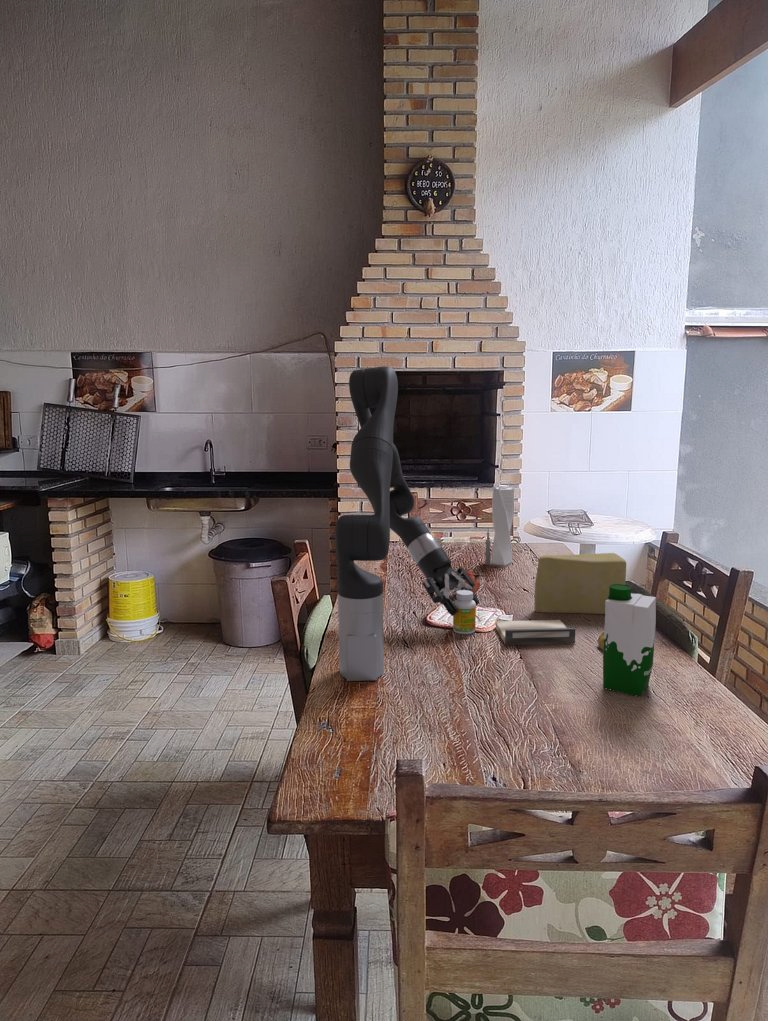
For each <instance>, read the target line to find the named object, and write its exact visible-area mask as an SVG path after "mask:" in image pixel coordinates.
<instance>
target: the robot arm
mask: <svg viewBox="0 0 768 1021" xmlns="http://www.w3.org/2000/svg"><path fill="white" fill-rule="evenodd" d="M348 388H349V394H350V400H351V403H352V406H353V408H354V411H355V414H356V418H357V421H358V423H359V424H358V425H360V426H359V427H360V429H359V430H358V431H357V433H356V434H355V436H354V437H353V438H352V442H351V447H350V456H349V470H350V473H351V475H352V477H353V479H354V480H355V482H356V483H357V485H358V486H359V488H360V489H361V490H362V491H363V492H364V494H365V495H366V497H367V499H368V500H369V502H370V504H371V507H372V509H373V513H374V514H343V515H340V516H339V517H338V518H337V521H336V522H335V526H334V527H335V528H334V538H335V539H334V540H335V543H334V544H335V555H336V567H337V570H336V571H337V603H338V604H337V605H338V606H337V608H338V611H337V612H338V613H337V614H338V618H337V619H338V650H339V651H338V652H339V654H338V656H339V658H338V659H339V674H340V676H341V677H343V678H345V679H346V681H347V682H356V681H357V682H359V681H377V680H378V678H380V677H381V676H383V674H384V673H385V662H384V659H385V657H384V656H385V654H384V653H385V652H384V651H385V650H384V649H385V647H384V643H385V642H384V637H385V636H384V582H383V579H382V577H380V576H379V575H377V574H374V573H373V572H369V571H367V570H365V569H363V568H361V567H360V566H358V565H357V564H356V563H355V562H356V561H357V562H358V561H361V562H368V561H369V562H372V561H373V562H378V561H379V562H380V561H384V560H385V559H386V558H387V556H388V554H389V551H390V543H391V531H392V532H394V533H395V534H396V535H397V536H398V537H399V538H400V540H401V541H402V543H403V544H404V546H405V547H406V549H407V550H408V551H409V553H410V555H411V557H412V559H413V561H414V562H415V564H416V566H417V567H418V568H419V569H420V571H421V573H422V575H424V577H425V578H426V579H425V580H424V581H423V582H422V585H423V587H424V589H425V590H426V592H427V593H428V595H429V597H430V599H431V600H432V602H433V603H434V604H437V603H440V604H441V605H443V606H444V608H445V609H446V611H447V612H448V614H450V616H451V617H453V615H455V614H456V613H457V612H458V609H457V607H456V606H455V604H454V601H453V600H452V598H450V594H449V592H450V591H453V590H454V591H456V592H457V591H459V590H469V591H472V588H473V587H474V586H475V583H474V582H473V581H472V579H471V578H470V577H469V575H468V574H467V573H466V571H467V570H466V571H465V569H464V567H462V566H459V567H458V568H457V569H454V568H453V567H452V560H451V558H450V557H449V556H448V554H447V553H446V551H445V549H444V548H443V546H442V545H441V544H440V543H439V541H438V540H437V538H436V537H435V536H434V535H433V534H432V533H431V531H430V530H429V528H428V527H427V525H425V523H424V521H423V520H422V519H421V518H420V517H418V516H413V517H402V516H405V515H406V514H409V513H410V512H412V511H413V509H414V507H415V497H414V495H413V493H412V491H411V489H410V487H409V485H408V483H407V481H406V479H405V477H404V475H403V470H402V469H403V468H402V464H401V460H400V454H399V451H398V448H397V446H396V445H395V444H394V422H395V416H396V408H397V402H398V395H399V394H398V393H399V383H398V377H397V373H396V371H395V369H394V368H393V367H391V366H385V365H381V366H376V367H375V366H374V367H369V368H361V369H356V370H355V369H354V370H353V371H351V373H350V375H349V380H348ZM371 408H373V409H374V408H375V410H374V412H373V413H371ZM391 488H393V489H392V490H391ZM466 580H467V581H468V582H469V584H467V583H466ZM458 582H460V583H459V584H458ZM462 587H465V589H464V588H462ZM472 592H473V591H472ZM472 600H473V601H475V603H476V607H477V606H478V605H479V604H480V599H479V598H478V597H477V595H476V593H474V592H473V599H472Z"/></svg>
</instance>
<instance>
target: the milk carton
mask: <svg viewBox="0 0 768 1021" xmlns="http://www.w3.org/2000/svg"><path fill="white" fill-rule="evenodd" d="M656 607H657V597H656V596H650V595H649V596H648V595H643V594H642V593H632V587H631V586H630V585H627V584H625V585H622V584H613V585H610V588H609V595H608V598H607V599H606V601H605V614H604V630H603V631H604V649H603V650H602V651H603V652H602V687H603V688H607V689H606V690H608V689H611V690H610V691H612V690H614V692H617V691H619V692H618V693H621V692H623V694H626V693H628V695H630V694H632V695H631V696H635V695H637V696H636V697H639V696H641V695H643V693H644V692H645V690H646V688H647V687H648V685H649V683H650V678H651V674H652V670H653V666H654V657H655V656H654V655H655V654H654V652H655V639H656V638H655V637H656V625H657V624H656V621H657V620H656V619H657V617H656V616H657V615H656V614H657V613H656V612H657V609H656ZM603 688H602V689H603ZM641 697H642V696H641Z"/></svg>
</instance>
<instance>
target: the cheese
mask: <svg viewBox="0 0 768 1021" xmlns="http://www.w3.org/2000/svg"><path fill="white" fill-rule="evenodd" d="M626 577H627V561H626V559H624V558H623V557H622V556H620V555H618V554H617V553H615V552H605V553H582V554H581V553H580V554H565V555H564V554H562V555H561V554H560V555H559V554H558V555H555V554H553V555H552V554H546V555H542V556H539V559H538V562H537V569H536V577H535V582H534V606H533V609H534V611H535V612H536V613H551V614H555V613H558V614H586V613H587V614H588V615H589V614H591V615H592V614H593V615H605V601H606V599H607V598H608V595H609V588H610V585H613V584H622V585H626V582H627V581H626V580H627V579H626Z"/></svg>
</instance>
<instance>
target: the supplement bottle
mask: <svg viewBox="0 0 768 1021" xmlns="http://www.w3.org/2000/svg"><path fill="white" fill-rule="evenodd" d="M455 593H456V596H455V598H456V599H455V600H454V601H453V603H454V604H455V606H456V607H457V609H458V612H457V613H456V614H455V615H453V616H452V618H453V619H452V623H453V624H452V631H454V633H456V634H459V635H470V634H473V633H475V631H476V623H477V622H476V620H477V619H476V618H477V617H476V616H477V615H476V614H477V611H476V610H477V609H476V608H477V606H476V603H475V601H473V600H472V599H473V592H472V591H469V590H459V591H456V592H455Z"/></svg>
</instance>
